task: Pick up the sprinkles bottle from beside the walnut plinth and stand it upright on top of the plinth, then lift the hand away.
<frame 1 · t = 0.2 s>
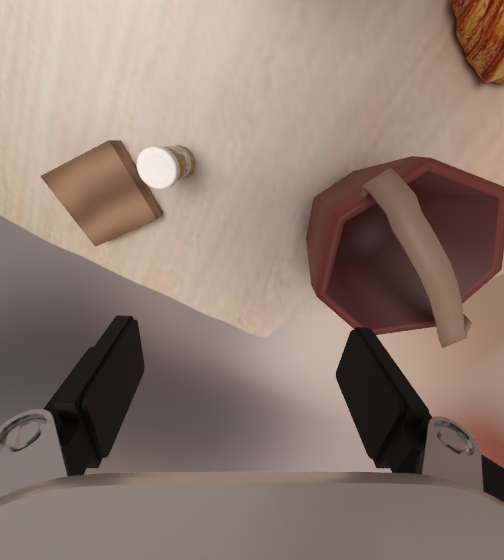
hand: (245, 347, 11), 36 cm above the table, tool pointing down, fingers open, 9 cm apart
croissant: (498, 44, 35), on the table
walnut plinth: (112, 193, 42), on the table
sprinkles bottle: (181, 161, 40), on the table
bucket: (347, 223, 46), on the table
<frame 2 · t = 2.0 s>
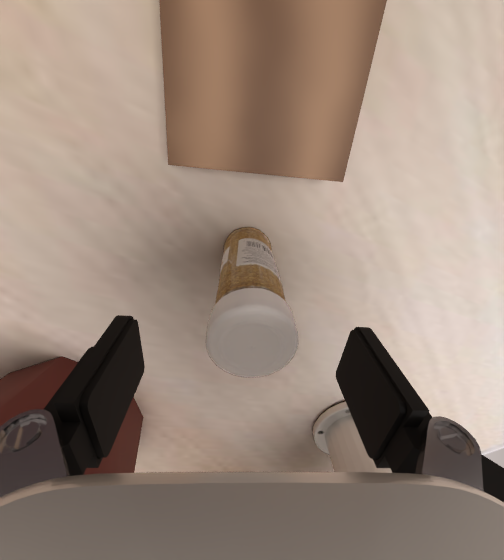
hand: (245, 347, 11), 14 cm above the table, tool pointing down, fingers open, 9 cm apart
walnut plinth: (263, 78, 18), on the table
sprinkles bottle: (248, 248, 24), on the table
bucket: (75, 400, 33), on the table
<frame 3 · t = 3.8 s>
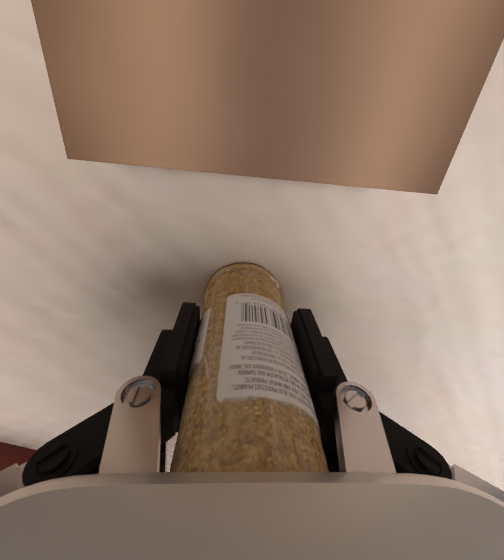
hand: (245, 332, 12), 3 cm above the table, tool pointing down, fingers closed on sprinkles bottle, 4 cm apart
sprinkles bottle: (244, 293, 15), on the table, touching gripper
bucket: (10, 482, 24), on the table
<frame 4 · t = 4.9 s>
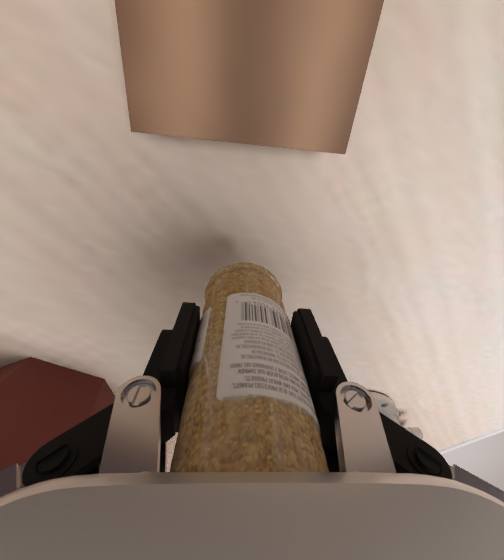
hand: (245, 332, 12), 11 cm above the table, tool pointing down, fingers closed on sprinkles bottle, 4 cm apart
walnut plinth: (248, 23, 14), on the table
sprinkles bottle: (244, 293, 15), point 7 cm above the table, touching gripper
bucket: (51, 402, 31), on the table
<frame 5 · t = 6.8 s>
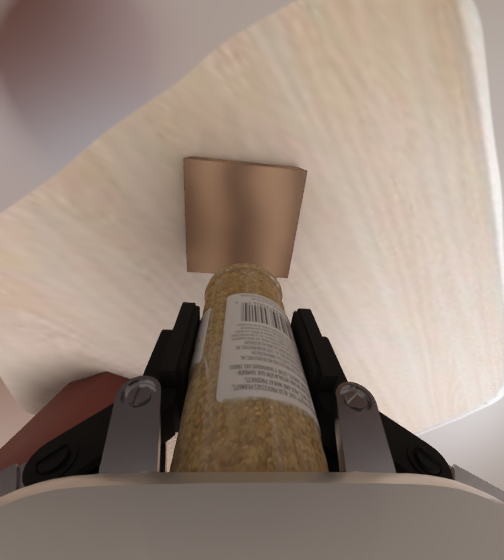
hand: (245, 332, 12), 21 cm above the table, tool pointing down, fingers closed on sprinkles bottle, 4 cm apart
walnut plinth: (241, 216, 30), on the table
sprinkles bottle: (244, 293, 15), point 18 cm above the table, touching gripper
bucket: (113, 401, 46), on the table
when the fingers open (9 cm above the table, at t = 9.8 s): sprinkles bottle drops 1 cm, resting on walnut plinth.
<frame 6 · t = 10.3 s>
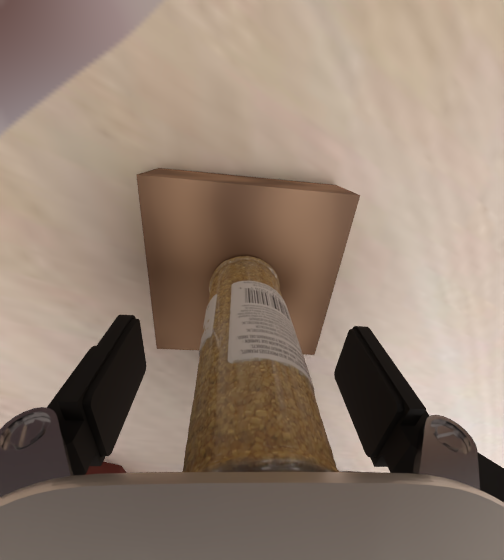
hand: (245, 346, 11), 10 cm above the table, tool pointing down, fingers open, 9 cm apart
walnut plinth: (243, 258, 20), on the table
sprinkles bottle: (245, 284, 16), point 4 cm above the table, touching walnut plinth
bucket: (75, 481, 35), on the table
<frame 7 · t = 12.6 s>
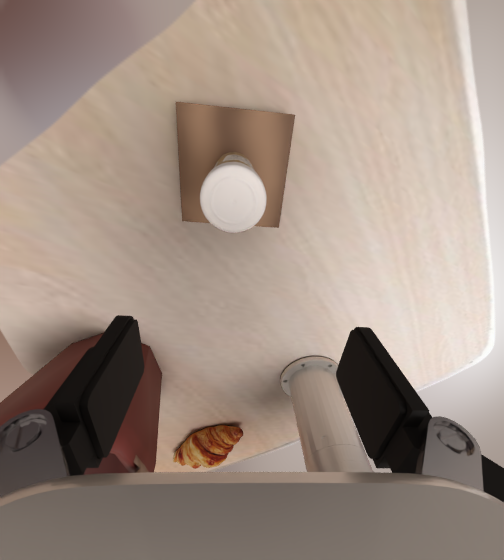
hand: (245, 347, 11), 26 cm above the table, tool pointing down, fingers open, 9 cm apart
croissant: (206, 435, 62), on the table
walnut plinth: (234, 168, 32), on the table
sprinkles bottle: (234, 174, 28), point 4 cm above the table, touching walnut plinth
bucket: (114, 362, 48), on the table
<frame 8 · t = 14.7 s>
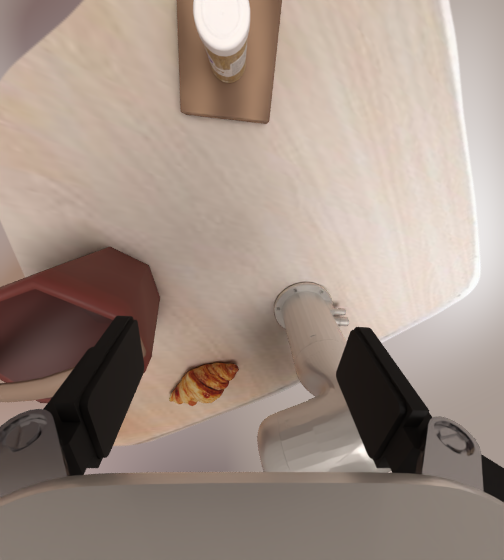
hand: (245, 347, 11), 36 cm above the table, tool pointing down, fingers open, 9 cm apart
croissant: (202, 375, 64), on the table
walnut plinth: (228, 68, 35), on the table
sprinkles bottle: (228, 62, 31), point 4 cm above the table, touching walnut plinth
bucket: (115, 283, 50), on the table
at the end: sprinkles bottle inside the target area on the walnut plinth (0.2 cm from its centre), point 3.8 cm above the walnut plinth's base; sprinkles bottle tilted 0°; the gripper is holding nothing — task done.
